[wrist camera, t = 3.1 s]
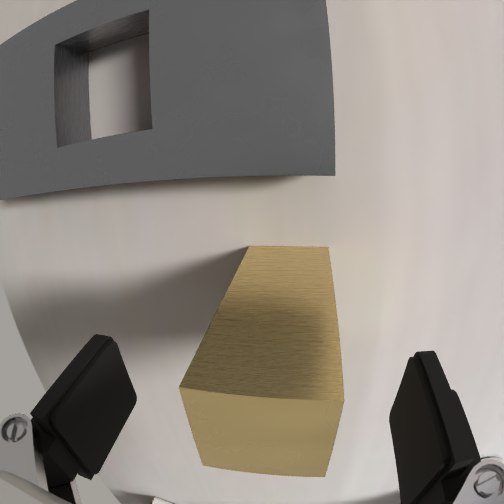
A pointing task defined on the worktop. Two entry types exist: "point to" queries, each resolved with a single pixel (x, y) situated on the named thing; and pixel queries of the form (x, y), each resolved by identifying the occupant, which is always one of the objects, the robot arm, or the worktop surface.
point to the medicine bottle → (159, 501)
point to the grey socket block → (171, 94)
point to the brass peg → (270, 368)
